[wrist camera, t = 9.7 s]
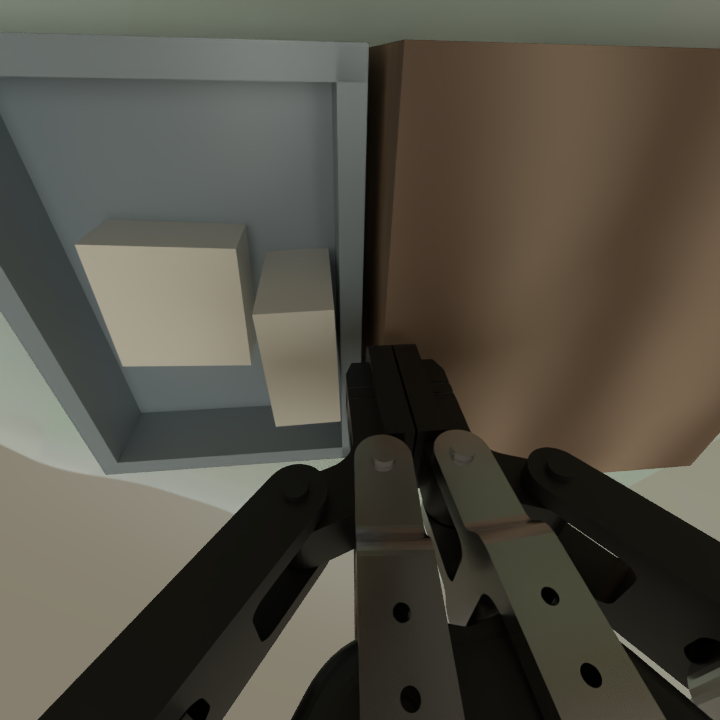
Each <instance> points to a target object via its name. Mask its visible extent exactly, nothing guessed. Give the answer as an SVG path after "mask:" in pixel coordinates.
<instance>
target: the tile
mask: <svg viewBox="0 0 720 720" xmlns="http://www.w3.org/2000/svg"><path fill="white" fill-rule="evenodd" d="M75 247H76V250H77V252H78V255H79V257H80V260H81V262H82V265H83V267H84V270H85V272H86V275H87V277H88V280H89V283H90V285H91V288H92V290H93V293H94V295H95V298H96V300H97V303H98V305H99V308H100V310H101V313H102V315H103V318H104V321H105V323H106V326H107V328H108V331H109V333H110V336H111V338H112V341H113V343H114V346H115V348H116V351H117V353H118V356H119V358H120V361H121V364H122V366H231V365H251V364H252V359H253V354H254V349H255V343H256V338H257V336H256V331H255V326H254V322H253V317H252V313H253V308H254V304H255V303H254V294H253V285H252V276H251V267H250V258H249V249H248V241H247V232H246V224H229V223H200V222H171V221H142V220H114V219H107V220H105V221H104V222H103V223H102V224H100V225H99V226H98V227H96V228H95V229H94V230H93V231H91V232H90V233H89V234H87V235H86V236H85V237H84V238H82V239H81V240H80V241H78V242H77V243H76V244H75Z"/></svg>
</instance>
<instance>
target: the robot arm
mask: <svg viewBox="0 0 720 720" xmlns="http://www.w3.org/2000/svg"><path fill="white" fill-rule="evenodd" d="M346 415H347V425H348V434H349V445H350V453H349V454H348V455H347V457H346V458H345V459H344V460H342V461H341V462H340V463H338V464H337V465H334V466H332V467H330V468H327V469H324V470H322V471H319V470H317V469H316V468H314V467H312V466H309V465H304V464H294V465H289V466H286V467H284V468H282V469H280V470H278V471H277V472H276V473H274V474H273V475H272V476H271V477H270V478H269V479H268V480H267V481H266V482H265V484H264V485H263V486H262V487H261V488H260V489H259V490H258V491H257V492H256V493H255V494H254V495H253V496H252V497H251V498H250V499H249V500H248V501H247V502H246V503H245V504H244V505H243V506H242V507H241V509H240V510H239V511H238V512H237V513H236V514H235V515H234V516H233V517H232V518H231V519H230V520H229V521H228V522H227V523H226V524H225V525H224V526H223V527H222V528H221V530H219V532H218V533H217V534H216V535H215V536H214V537H213V538H212V539H211V540H210V541H209V542H208V543H207V544H206V545H205V546H204V547H203V548H202V549H201V550H200V551H199V552H198V553H197V554H196V555H195V557H194V558H193V559H192V560H191V561H190V562H189V563H188V564H187V565H186V566H185V567H184V568H183V569H182V570H181V571H180V572H179V573H178V574H177V575H176V576H175V577H174V578H173V579H172V580H171V581H170V582H169V583H168V584H167V586H166V587H165V588H164V589H163V590H162V591H161V592H160V593H159V594H158V595H157V596H156V597H155V598H154V599H153V600H152V601H151V602H150V603H149V604H148V605H147V606H146V607H145V608H144V610H143V611H142V612H141V613H140V614H139V615H138V616H137V617H136V618H135V619H134V620H133V621H132V622H131V623H130V624H129V625H128V626H127V627H126V628H125V629H124V630H123V631H122V633H120V634H119V636H118V637H117V638H116V639H115V640H114V641H113V642H112V643H111V644H110V645H109V646H108V647H107V648H106V649H105V650H104V651H103V652H102V653H101V654H100V655H99V657H97V659H95V660H94V662H93V663H92V664H91V665H90V666H89V667H88V668H87V669H86V670H85V671H84V672H83V673H82V674H81V675H80V676H79V677H78V678H77V679H76V680H75V681H74V682H73V683H72V684H71V686H70V687H69V688H68V689H67V690H66V691H65V692H64V693H63V694H62V695H61V696H60V697H59V698H58V699H57V700H56V701H55V702H54V703H53V704H52V705H51V706H50V707H49V708H48V709H47V710H46V712H45V713H44V714H43V715H42V716H41V717H40V718H39V719H38V720H222V719H223V717H224V716H225V715H226V713H227V712H228V710H229V709H230V707H231V706H232V704H233V703H234V701H235V700H236V699H237V697H238V695H239V694H240V693H241V691H242V690H243V688H244V687H245V685H246V684H247V682H248V681H249V679H250V678H251V676H252V675H253V673H254V672H255V670H256V669H257V667H258V666H259V665H260V663H261V662H262V660H263V659H264V657H265V656H266V654H267V653H268V651H269V650H270V648H271V647H272V645H273V644H274V642H275V641H276V639H277V638H278V636H279V635H280V634H281V632H282V630H283V629H284V628H285V626H286V624H287V623H288V622H289V620H290V619H291V617H292V616H293V614H294V613H295V611H296V610H297V608H298V607H299V605H300V604H301V602H302V601H303V600H304V598H305V597H306V595H307V594H308V592H309V591H310V589H311V588H312V586H313V585H314V583H315V582H316V580H317V579H318V577H319V576H320V574H321V573H322V571H323V570H324V568H325V567H326V565H327V564H328V562H329V560H331V559H333V558H336V557H338V556H340V555H342V554H344V553H346V552H348V551H350V550H352V549H354V593H355V594H354V613H355V614H354V617H355V618H354V619H355V621H354V622H355V640H354V641H352V642H350V643H349V644H347V645H346V646H344V647H343V648H341V649H340V650H339V651H338V652H337V653H336V654H334V655H333V656H332V657H331V658H330V659H329V660H328V661H327V663H325V665H324V666H323V667H322V668H321V669H320V671H319V672H318V673H317V675H316V676H315V678H314V679H313V681H312V682H311V684H310V686H309V687H308V689H307V691H306V692H305V694H304V696H303V698H302V700H301V702H300V704H299V706H298V707H297V709H296V711H295V713H294V715H293V717H292V719H291V720H720V542H719V541H717V540H716V539H713V538H712V537H711V536H709V535H707V534H705V533H704V532H702V531H700V530H698V529H697V528H695V527H693V526H692V525H690V524H688V523H687V522H685V521H683V520H682V519H680V518H678V517H677V516H675V515H673V514H671V513H670V512H668V511H666V510H665V509H663V508H661V507H660V506H658V505H656V504H654V503H653V502H651V501H649V500H648V499H646V498H644V497H643V496H641V495H639V494H638V493H636V492H634V491H632V490H631V489H629V488H627V487H626V486H624V485H622V484H621V483H619V482H617V481H615V480H614V479H612V478H610V477H609V476H607V475H605V474H604V473H602V472H600V471H598V470H597V469H595V468H593V467H592V466H590V465H588V464H587V463H585V462H583V461H582V460H580V459H578V458H576V457H575V456H573V455H571V454H569V453H568V452H566V451H563V450H560V449H557V448H551V447H543V448H538V449H536V450H534V451H533V452H531V453H530V455H529V457H528V459H527V458H522V457H517V456H512V455H507V454H502V453H498V452H496V451H493V450H491V449H490V448H489V447H488V445H487V444H486V443H485V442H484V440H482V439H481V438H480V437H478V436H477V435H475V434H473V433H471V431H470V429H469V426H468V424H467V422H466V419H465V417H464V415H463V413H462V410H461V408H460V406H459V403H458V401H457V399H456V396H455V394H453V389H452V387H451V385H450V384H449V380H448V378H447V376H446V373H445V371H444V369H443V368H442V367H441V366H440V365H439V364H438V363H436V362H435V361H434V360H433V359H421V357H420V354H419V351H418V349H417V346H416V344H396V345H376V346H367V347H366V362H361V363H351V365H350V367H349V369H348V371H347V373H346ZM418 488H420V492H421V496H422V504H421V506H420V500H419V494H418ZM423 522H424V524H423ZM568 523H570V524H571V525H572V526H574V527H576V528H577V529H578V530H580V531H581V532H582V533H584V534H586V535H587V536H588V537H590V538H591V539H593V540H594V541H595V542H597V543H598V544H600V545H602V546H603V547H604V548H606V549H607V550H609V551H610V552H612V553H613V554H614V555H616V556H617V557H619V558H617V557H616V556H614V555H612V554H611V553H609V552H608V551H606V550H605V549H604V548H602V547H601V546H599V545H598V544H596V543H595V542H594V541H592V540H591V539H589V538H588V537H586V536H585V535H584V534H582V533H581V532H579V531H578V530H576V529H575V528H573V527H572V526H571V525H569V524H568ZM424 526H425V529H426V532H427V535H428V536H427V535H426V533H425V529H424ZM437 565H438V567H437ZM438 569H439V572H440V575H441V578H442V581H443V584H444V589H445V595H446V608H447V615H448V619H449V623H450V624H449V623H447V617H446V612H445V606H444V600H443V595H442V589H441V584H440V578H439V572H438ZM613 630H615V631H616V632H617V633H619V634H620V635H621V636H622V637H624V638H625V639H626V640H627V641H628V642H630V643H631V644H632V645H633V646H635V647H636V648H637V649H639V650H640V651H641V652H642V653H644V654H645V655H646V656H647V657H649V658H650V659H651V660H652V661H654V662H655V663H656V664H658V665H659V666H660V667H661V668H662V669H664V670H665V671H666V672H667V673H669V674H670V675H671V676H672V677H674V678H675V679H676V680H677V681H679V682H680V683H681V684H682V685H684V686H685V687H686V688H688V689H689V691H690V694H691V697H692V698H691V699H690V700H689V699H688V698H687V697H686V696H685V695H683V694H682V693H681V692H680V691H679V690H677V689H676V688H675V687H674V686H673V685H671V684H670V683H669V682H668V681H667V680H666V679H664V678H663V677H662V676H661V675H660V674H658V673H657V672H656V671H655V670H654V669H653V668H651V667H650V666H649V665H648V664H647V663H645V662H644V661H643V660H642V659H641V658H640V657H638V656H637V655H636V654H635V653H634V652H632V651H631V650H630V649H629V648H627V647H626V646H625V645H624V644H622V643H621V642H620V641H619V640H618V638H617V636H616V634H615V633H614V632H613Z"/></svg>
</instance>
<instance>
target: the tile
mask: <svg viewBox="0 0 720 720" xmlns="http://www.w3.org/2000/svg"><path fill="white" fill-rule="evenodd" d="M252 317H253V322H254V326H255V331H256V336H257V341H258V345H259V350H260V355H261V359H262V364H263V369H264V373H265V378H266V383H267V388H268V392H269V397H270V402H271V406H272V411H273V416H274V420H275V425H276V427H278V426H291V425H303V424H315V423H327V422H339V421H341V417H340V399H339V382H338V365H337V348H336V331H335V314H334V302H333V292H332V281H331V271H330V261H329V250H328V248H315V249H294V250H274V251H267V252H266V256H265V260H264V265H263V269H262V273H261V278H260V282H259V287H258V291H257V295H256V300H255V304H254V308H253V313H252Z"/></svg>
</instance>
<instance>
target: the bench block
mask: <svg viewBox="0 0 720 720" xmlns="http://www.w3.org/2000/svg"><path fill="white" fill-rule="evenodd" d="M396 344H416V346H417V349H418V351H419V354H420V357H421V359H433V360H434V361H435V362H436V363H438V364H439V365H440V366H441V367H442V368H443V369H444V371H445V373H446V376H447V378H448V380H449V384H450V385H451V387H452V389H453V394H455V396H456V399H457V401H458V403H459V406H460V408H461V410H462V413H463V415H464V417H465V419H466V422H467V424H468V426H469V429H470V431H471V433H473V434H475V435H477V436H478V437H480V438H481V439H482V440H484V442H485V443H486V444H487V445H488V447H489V448H490V449H491V450H493V451H496V452H498V453H502V454H507V455H512V456H517V457H522V458H527V459H528V457H529V455H530V453H531V452H533V451H534V450H536V449H538V448H543V447H551V448H557V449H560V450H563V451H566V452H568V453H569V454H571V455H573V456H575V457H576V458H578V459H580V460H582V461H583V462H585V463H587V464H588V465H590V466H592V467H593V468H595V469H597V470H598V471H600V472H602V473H604V472H616V471H629V470H641V469H654V468H666V467H678V466H690V465H691V464H692V463H693V462H694V461H695V460H696V459H697V457H698V456H699V455H700V454H701V453H702V452H703V451H704V450H705V449H706V447H707V446H708V445H709V444H710V443H711V442H712V441H713V439H714V438H715V437H716V436H717V435H718V434H719V433H720V49H709V48H674V47H640V46H606V45H572V44H538V43H504V42H469V41H435V40H401V41H396V42H392V43H387V44H383V45H379V46H374V47H370V48H369V76H368V115H367V153H366V192H365V231H364V269H363V308H362V347H361V362H366V347H367V346H376V345H396Z"/></svg>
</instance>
